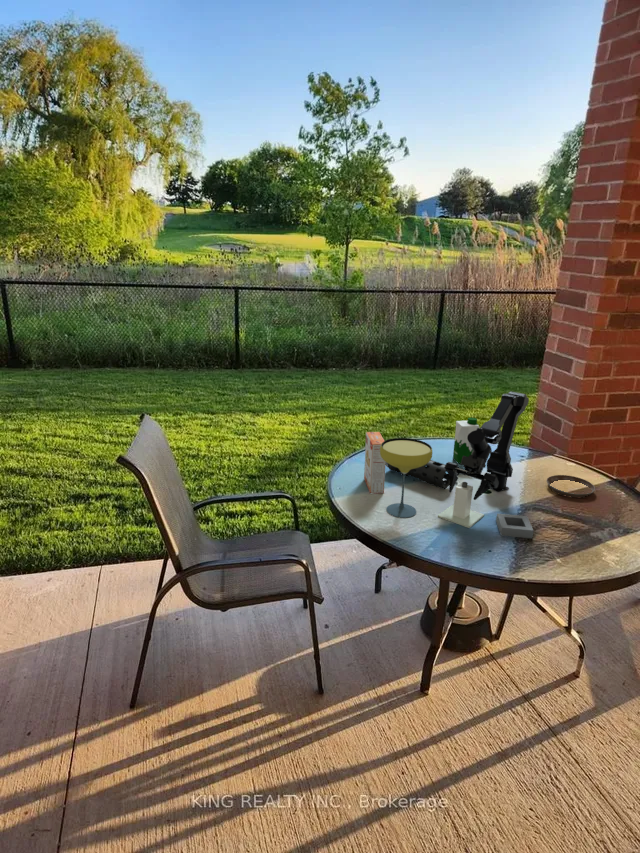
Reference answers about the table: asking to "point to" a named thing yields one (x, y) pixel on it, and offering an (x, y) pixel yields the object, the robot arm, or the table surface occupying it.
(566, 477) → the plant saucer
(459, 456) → the milk carton
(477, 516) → the rubber mat
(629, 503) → the table surface
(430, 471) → the muzzle brake
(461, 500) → the plug
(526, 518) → the socket collar
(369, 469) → the cracker box
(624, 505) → the table surface
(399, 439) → the cocktail glass
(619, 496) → the table surface
